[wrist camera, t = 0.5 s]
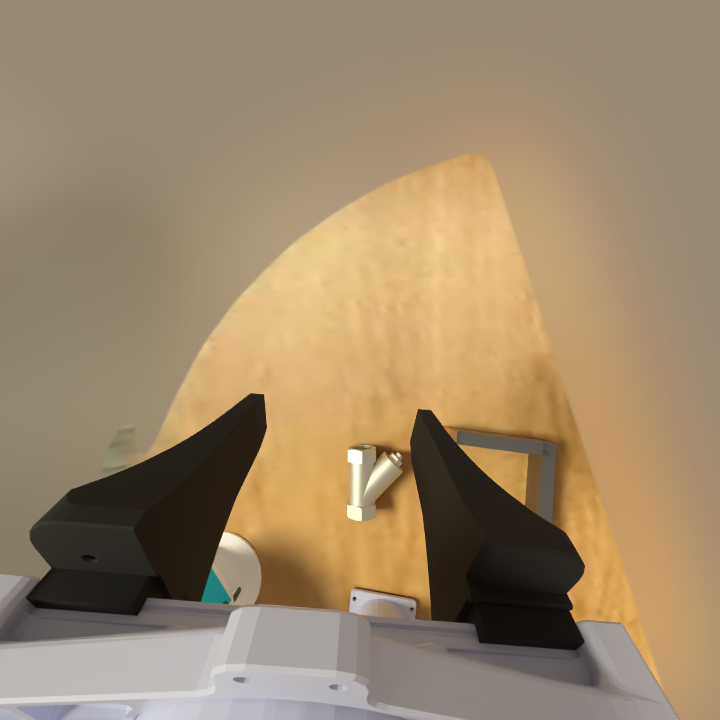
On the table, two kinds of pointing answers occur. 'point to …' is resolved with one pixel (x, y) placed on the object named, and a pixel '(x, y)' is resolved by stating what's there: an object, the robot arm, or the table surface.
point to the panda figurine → (233, 573)
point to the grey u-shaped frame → (538, 463)
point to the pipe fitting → (369, 479)
